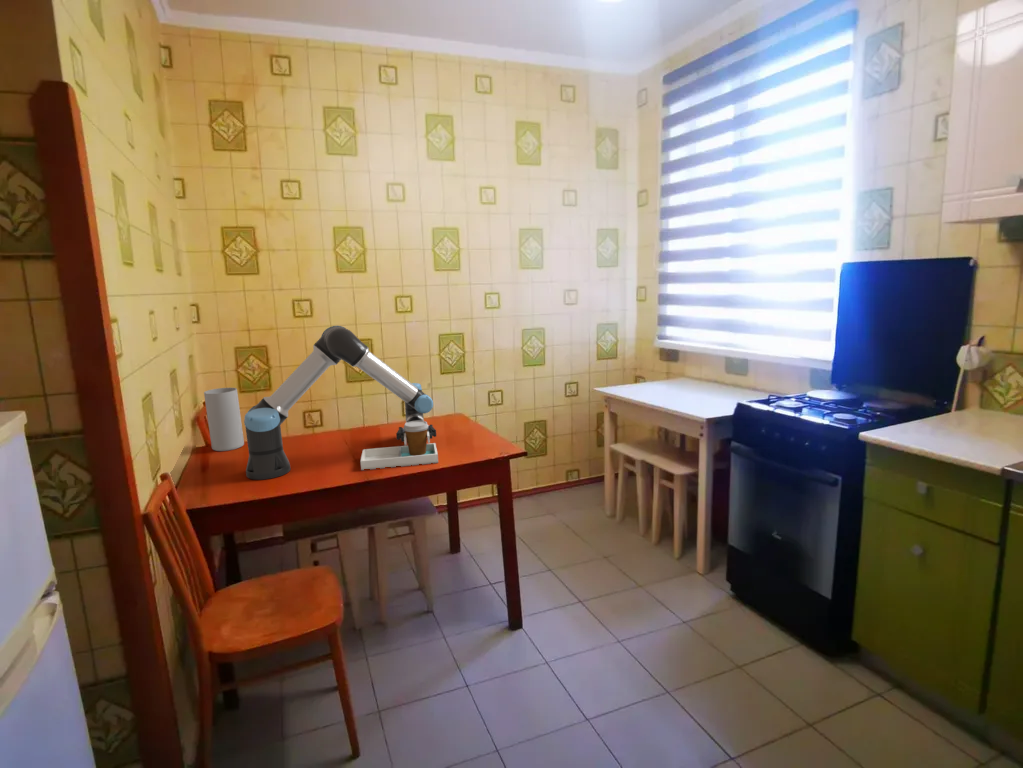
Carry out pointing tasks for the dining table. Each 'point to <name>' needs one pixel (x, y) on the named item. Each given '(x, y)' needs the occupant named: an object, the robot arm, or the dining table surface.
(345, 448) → the dining table surface
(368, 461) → the divided tray
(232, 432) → the cylinder vase
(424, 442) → the disposable coffee cup
